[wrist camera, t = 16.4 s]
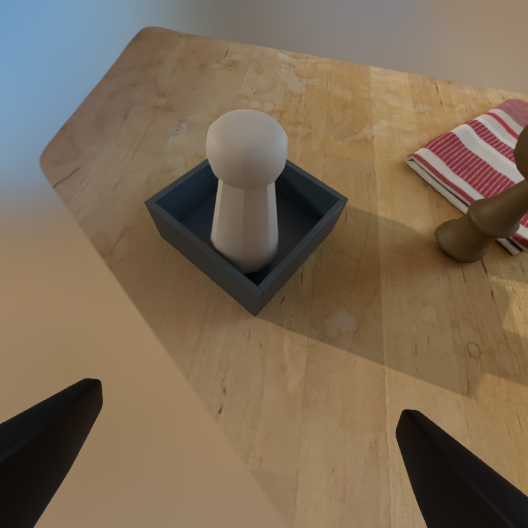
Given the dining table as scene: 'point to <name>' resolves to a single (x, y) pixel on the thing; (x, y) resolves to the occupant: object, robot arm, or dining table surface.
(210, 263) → the bin
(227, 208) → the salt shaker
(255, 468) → the dining table surface
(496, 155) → the dish towel
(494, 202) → the kendama
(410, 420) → the robot arm
